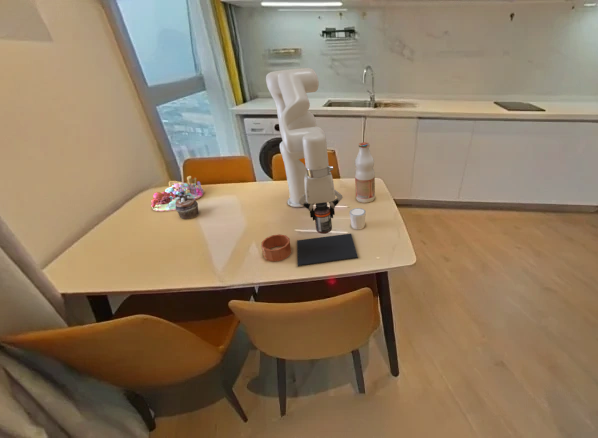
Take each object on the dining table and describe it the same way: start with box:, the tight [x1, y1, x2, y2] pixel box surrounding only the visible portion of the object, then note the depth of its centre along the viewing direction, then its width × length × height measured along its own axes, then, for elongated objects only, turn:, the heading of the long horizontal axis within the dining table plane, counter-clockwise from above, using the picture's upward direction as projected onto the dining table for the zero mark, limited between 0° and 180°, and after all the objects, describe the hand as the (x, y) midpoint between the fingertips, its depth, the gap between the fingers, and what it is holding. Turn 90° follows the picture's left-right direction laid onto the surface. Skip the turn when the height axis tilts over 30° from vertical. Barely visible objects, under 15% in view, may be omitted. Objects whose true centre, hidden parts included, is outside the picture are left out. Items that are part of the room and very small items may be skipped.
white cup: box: [349, 207, 366, 230], centre depth 134 cm, size 7×7×7 cm
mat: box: [296, 233, 359, 267], centre depth 122 cm, size 16×22×1 cm
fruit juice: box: [354, 141, 376, 204], centre depth 150 cm, size 9×9×28 cm
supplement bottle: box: [313, 202, 333, 235], centre depth 114 cm, size 6×6×11 cm
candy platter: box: [150, 175, 205, 212], centre depth 162 cm, size 25×24×9 cm
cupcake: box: [175, 193, 200, 220], centre depth 147 cm, size 10×10×10 cm
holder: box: [260, 233, 292, 262], centre depth 120 cm, size 10×10×5 cm
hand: (322, 217), depth 114 cm, fingers closed on supplement bottle, 6 cm apart
